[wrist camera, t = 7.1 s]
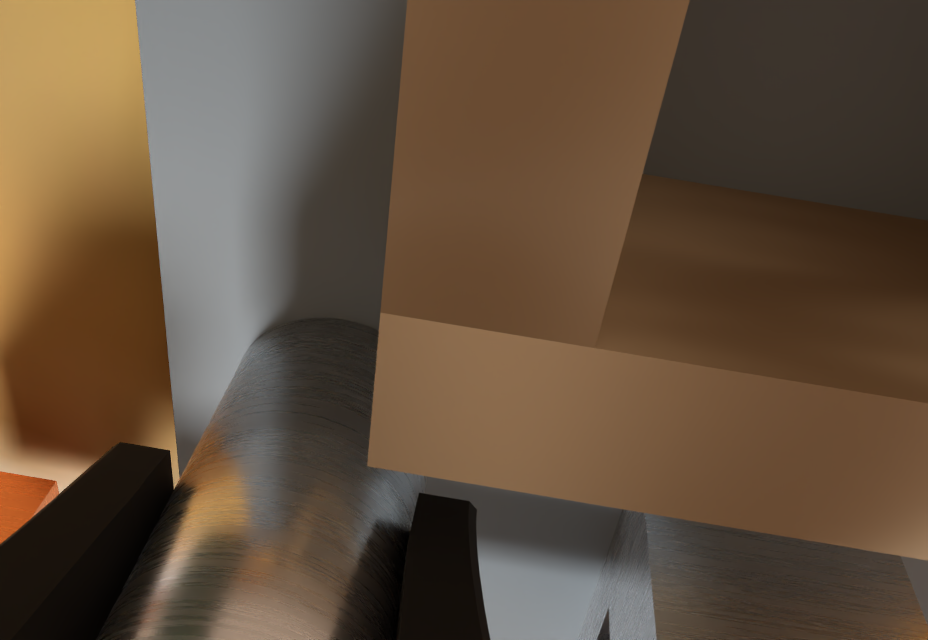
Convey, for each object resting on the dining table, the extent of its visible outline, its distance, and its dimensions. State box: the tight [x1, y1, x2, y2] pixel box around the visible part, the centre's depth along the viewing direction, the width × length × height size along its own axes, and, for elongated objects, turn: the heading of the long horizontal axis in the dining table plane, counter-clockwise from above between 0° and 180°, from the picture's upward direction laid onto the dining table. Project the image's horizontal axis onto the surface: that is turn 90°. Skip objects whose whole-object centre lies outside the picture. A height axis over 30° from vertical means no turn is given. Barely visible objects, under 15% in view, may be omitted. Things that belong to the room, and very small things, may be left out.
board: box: [135, 0, 928, 640], centre depth 12 cm, size 12×18×1 cm
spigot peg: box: [96, 318, 428, 640], centre depth 10 cm, size 3×3×7 cm
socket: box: [367, 0, 928, 561], centre depth 7 cm, size 8×8×4 cm
